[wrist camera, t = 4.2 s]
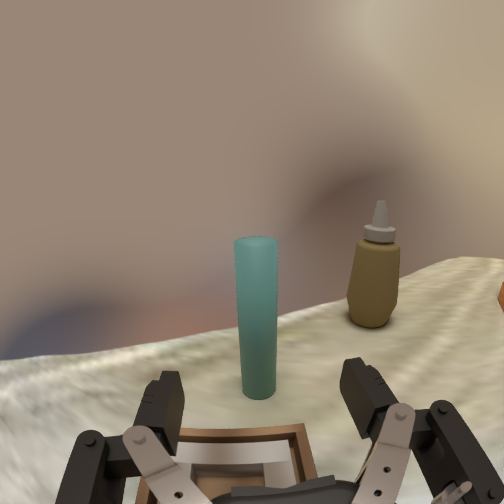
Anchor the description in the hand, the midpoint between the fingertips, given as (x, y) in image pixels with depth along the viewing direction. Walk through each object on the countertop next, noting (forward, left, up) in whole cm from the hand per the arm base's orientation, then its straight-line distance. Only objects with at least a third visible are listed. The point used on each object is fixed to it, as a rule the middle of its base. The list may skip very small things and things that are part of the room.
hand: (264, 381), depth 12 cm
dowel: (0, -12, -12) cm, 17 cm away
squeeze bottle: (-18, -24, -12) cm, 32 cm away
